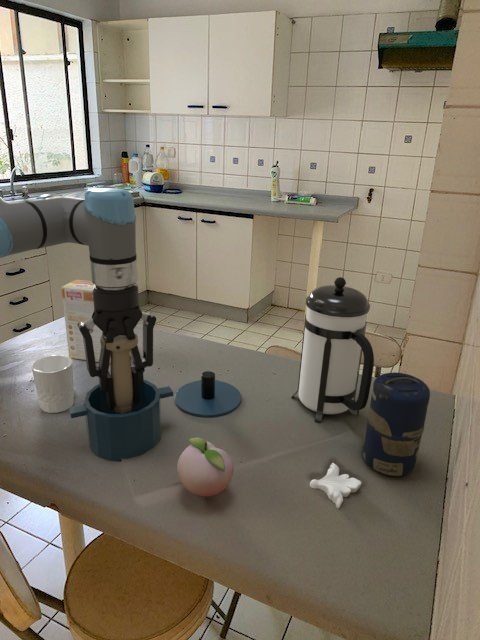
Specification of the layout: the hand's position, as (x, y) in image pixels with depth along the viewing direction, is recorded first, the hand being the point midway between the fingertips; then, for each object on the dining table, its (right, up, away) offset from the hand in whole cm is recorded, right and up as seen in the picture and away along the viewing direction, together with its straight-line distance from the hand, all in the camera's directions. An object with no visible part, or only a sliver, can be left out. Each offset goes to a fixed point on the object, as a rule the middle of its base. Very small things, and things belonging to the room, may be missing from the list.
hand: (123, 402), depth 87 cm
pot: (0, -7, +3) cm, 8 cm away
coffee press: (+42, -4, +15) cm, 45 cm away
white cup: (-17, -3, +13) cm, 22 cm away
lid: (+15, -2, +16) cm, 22 cm away
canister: (+49, -11, -1) cm, 51 cm away
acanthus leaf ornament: (+38, -13, -7) cm, 41 cm away
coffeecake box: (-14, +6, +35) cm, 38 cm away
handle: (0, -2, +1) cm, 2 cm away
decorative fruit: (+16, -14, -10) cm, 23 cm away
